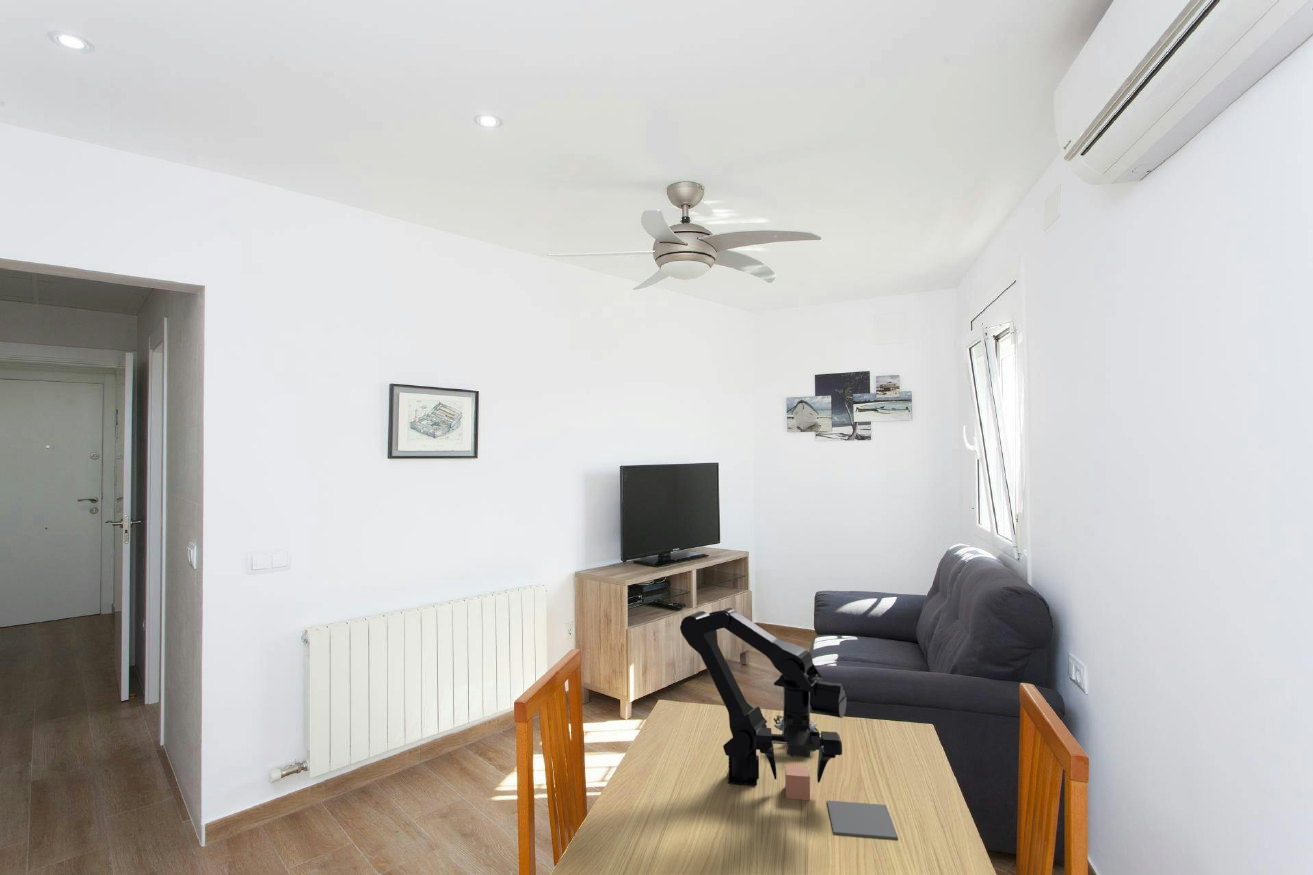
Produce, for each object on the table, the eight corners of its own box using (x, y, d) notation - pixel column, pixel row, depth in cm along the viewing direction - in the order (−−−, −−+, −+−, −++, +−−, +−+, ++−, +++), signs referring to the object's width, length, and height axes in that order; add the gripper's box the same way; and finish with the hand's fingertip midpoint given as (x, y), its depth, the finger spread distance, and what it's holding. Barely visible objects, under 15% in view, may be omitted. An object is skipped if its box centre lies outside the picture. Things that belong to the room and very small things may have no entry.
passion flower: (799, 777, 162) (778, 744, 158) (779, 750, 172) (758, 718, 169) (835, 748, 164) (814, 714, 160) (812, 723, 174) (792, 691, 171)
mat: (833, 833, 128) (833, 831, 128) (827, 802, 140) (827, 800, 140) (898, 839, 126) (898, 837, 126) (885, 806, 138) (885, 804, 138)
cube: (786, 798, 141) (786, 774, 142) (785, 787, 146) (785, 764, 146) (810, 800, 141) (809, 776, 141) (808, 788, 146) (808, 765, 146)
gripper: (753, 719, 138) (753, 795, 137) (845, 725, 135) (845, 802, 134) (753, 700, 149) (753, 770, 148) (838, 705, 146) (839, 776, 145)
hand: (796, 780), depth 144 cm, fingers open, 9 cm apart
